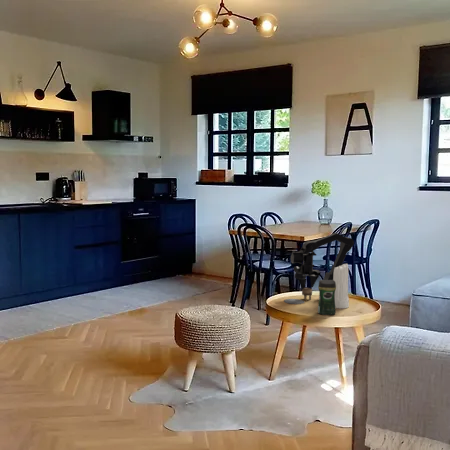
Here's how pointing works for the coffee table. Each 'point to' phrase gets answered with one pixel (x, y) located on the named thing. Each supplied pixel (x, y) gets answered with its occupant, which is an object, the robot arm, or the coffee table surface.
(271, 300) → the coffee table surface
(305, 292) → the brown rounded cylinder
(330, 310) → the coffee jar
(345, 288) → the decorative vase
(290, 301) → the felt mat
